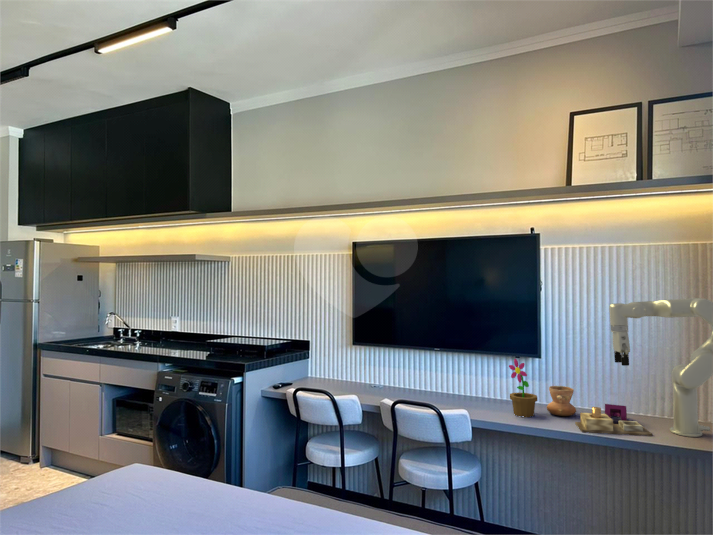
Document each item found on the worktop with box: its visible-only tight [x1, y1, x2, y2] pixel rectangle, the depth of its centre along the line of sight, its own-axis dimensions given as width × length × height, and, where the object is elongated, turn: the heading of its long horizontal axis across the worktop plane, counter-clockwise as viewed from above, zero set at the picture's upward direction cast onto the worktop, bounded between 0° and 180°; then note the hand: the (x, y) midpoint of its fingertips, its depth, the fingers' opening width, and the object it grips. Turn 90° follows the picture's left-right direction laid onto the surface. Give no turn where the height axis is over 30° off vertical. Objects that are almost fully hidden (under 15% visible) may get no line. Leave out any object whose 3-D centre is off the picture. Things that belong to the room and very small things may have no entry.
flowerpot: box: [508, 358, 538, 418], centre depth 262 cm, size 14×14×30 cm
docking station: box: [574, 412, 653, 437], centre depth 234 cm, size 30×14×6 cm, turn 78°
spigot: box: [591, 406, 602, 418], centre depth 236 cm, size 4×4×9 cm
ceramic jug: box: [546, 385, 577, 417], centre depth 263 cm, size 18×14×14 cm
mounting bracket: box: [604, 403, 628, 421], centre depth 249 cm, size 10×8×18 cm
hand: (621, 363), depth 239 cm, fingers open, 9 cm apart
